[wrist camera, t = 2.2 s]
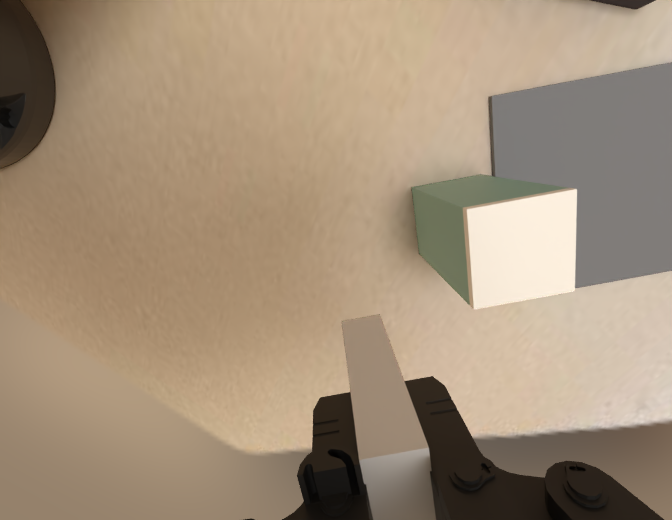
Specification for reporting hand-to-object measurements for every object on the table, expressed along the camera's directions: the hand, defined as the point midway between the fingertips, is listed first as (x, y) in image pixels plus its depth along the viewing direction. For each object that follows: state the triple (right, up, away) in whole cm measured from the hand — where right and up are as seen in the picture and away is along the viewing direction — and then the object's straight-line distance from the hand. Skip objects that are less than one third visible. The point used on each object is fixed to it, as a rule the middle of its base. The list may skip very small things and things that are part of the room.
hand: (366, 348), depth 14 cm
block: (+9, +7, +18) cm, 21 cm away
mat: (+22, +10, +17) cm, 29 cm away
